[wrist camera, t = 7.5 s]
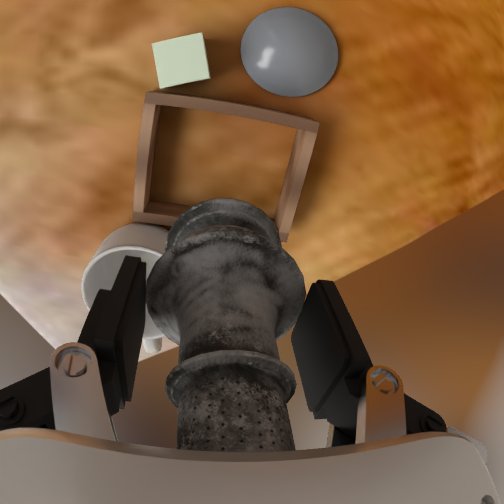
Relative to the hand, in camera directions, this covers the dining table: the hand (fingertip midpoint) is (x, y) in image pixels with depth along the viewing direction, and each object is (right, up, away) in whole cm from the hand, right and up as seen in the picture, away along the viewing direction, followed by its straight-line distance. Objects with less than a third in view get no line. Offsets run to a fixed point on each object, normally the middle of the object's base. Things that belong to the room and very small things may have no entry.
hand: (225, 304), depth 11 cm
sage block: (-5, +19, +13) cm, 23 cm away
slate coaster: (+4, +20, +13) cm, 24 cm away
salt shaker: (0, +2, +3) cm, 4 cm away
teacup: (-11, 0, +24) cm, 26 cm away
